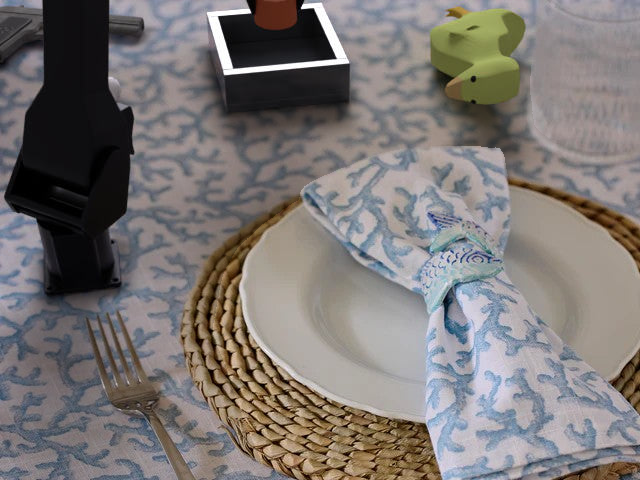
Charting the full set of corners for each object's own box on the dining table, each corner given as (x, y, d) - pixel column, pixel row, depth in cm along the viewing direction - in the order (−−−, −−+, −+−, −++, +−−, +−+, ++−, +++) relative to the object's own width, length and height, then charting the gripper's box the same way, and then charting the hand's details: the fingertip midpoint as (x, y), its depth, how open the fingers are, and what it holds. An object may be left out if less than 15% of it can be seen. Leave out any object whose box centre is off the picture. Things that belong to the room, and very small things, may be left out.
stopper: (300, 27, 104) (299, -1, 102) (258, 31, 104) (256, 3, 102) (292, 8, 107) (291, -19, 105) (251, 12, 107) (249, -16, 105)
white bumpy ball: (113, 110, 109) (109, 86, 107) (90, 104, 110) (85, 80, 108) (128, 97, 111) (124, 73, 109) (105, 92, 112) (101, 68, 110)
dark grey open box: (349, 100, 112) (350, 63, 109) (227, 113, 109) (224, 75, 106) (321, 38, 122) (321, 2, 119) (209, 48, 120) (206, 12, 117)
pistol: (116, 59, 114) (146, 12, 122) (-41, 44, 115) (-1, -1, 124) (118, 74, 115) (148, 27, 124) (-37, 60, 116) (3, 14, 125)
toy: (373, 15, 117) (456, 71, 102) (498, -14, 121) (595, 36, 107) (376, 68, 120) (457, 129, 106) (497, 37, 125) (591, 92, 110)
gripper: (347, -183, 101) (346, -29, 112) (159, -172, 98) (176, -15, 109) (374, -145, 93) (370, 16, 104) (170, -132, 90) (188, 33, 101)
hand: (275, 11), depth 105 cm, fingers closed on stopper, 4 cm apart
